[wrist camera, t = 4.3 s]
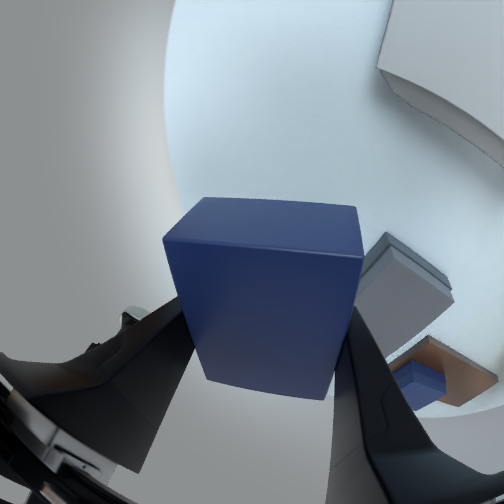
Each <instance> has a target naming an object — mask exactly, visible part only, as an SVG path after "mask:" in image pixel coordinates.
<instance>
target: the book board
mask: <svg viewBox="0 0 504 504" xmlns="http://www.w3.org/2000/svg"><path fill="white" fill-rule="evenodd" d="M410 360H414V361H416V362H418V363H420V364H422V365H424V366H427V367H429V368H431V369H433V370H435V371H437V372H440V373H442V374H444V375H445V379H446V391H447V394H446V395H444V396H443V397H441V398H439V399H437V400H438V401H441V402H444V403H447V404H450V405H453V406H456V407H459V406H461V405H463V404H465V403H466V402H468V401H470V400H471V399H473V398H475V397H476V396H478V395H479V394H481V393H482V392H484V391H486V390H487V389H489V388H490V387H491V386H493V385H494V384H496V383H497V382H499V381H498V377H497V376H496V375H495V374H493V373H491V372H490V371H488V370H486V369H485V368H483V367H481V366H480V365H478V364H476V363H475V362H473V361H471V360H470V359H468V358H466V357H465V356H463V355H461V354H460V353H458V352H456V351H454V350H453V349H451V348H449V347H448V346H446V345H444V344H443V343H441V342H439V341H437V340H436V339H434V338H432V337H431V336H429V335H428V336H426V337H425V338H424V339H423V340H421V341H420V342H419V343H417V344H416V345H415V346H413V347H412V348H411V349H409V350H408V351H407V352H405V353H404V354H402V355H401V356H400V357H398V358H397V359H395V360H394V361H392V362H391V363H389V364H388V366H389V368H390V369H391V371H392V372H393V371H395V370H397V369H398V368H400V367H401V366H403V365H404V364H406V363H407V362H409V361H410Z"/></svg>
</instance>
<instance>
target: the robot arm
mask: <svg viewBox="0 0 504 504" xmlns="http://www.w3.org/2000/svg"><path fill="white" fill-rule="evenodd" d="M194 349H195V346H194V343H193V340H192V338H191V335H190V332H189V329H188V326H187V323H186V320H185V317H184V314H183V311H182V307H181V304H180V301H179V298H178V296H177V297H176V298H174V299H173V300H171V301H169V302H168V303H166V304H165V305H163V306H162V307H160V308H158V309H157V310H156V311H154V312H152V313H151V314H149V315H147V316H146V317H144V318H143V319H141V320H140V321H139V320H137V319H136V318H134V317H133V316H131V315H129V314H128V313H126V312H123V314H122V324H121V329H120V331H119V332H118V333H117V335H116V336H115V337H113V338H111V339H109V340H108V341H106V342H104V343H103V344H100V343H98V344H95V343H92V344H91V345H90V346H89V348H88V349H87V350H86V352H85V353H84V354H82V355H80V356H78V357H76V358H74V359H72V360H70V361H68V362H64V363H39V362H27V361H17V360H13V359H10V358H8V357H7V356H6V355H5V354H4V353H2V352H0V373H1V375H2V376H3V377H4V378H5V379H6V380H7V381H8V382H9V383H10V385H11V386H13V390H12V391H10V390H9V389H8V388H7V387H6V386H5V385H4V384H3V383H2V382H1V381H0V475H2V476H4V477H5V478H7V479H10V480H12V481H13V482H16V483H18V484H20V485H22V486H25V487H27V488H29V489H30V490H31V491H30V493H29V495H28V497H27V499H26V501H25V503H24V504H137V503H135V502H133V501H132V500H130V499H128V498H126V497H124V496H123V495H121V494H119V493H117V492H116V491H114V490H112V489H111V488H109V487H107V484H108V482H109V480H110V478H111V476H112V474H113V472H114V470H115V469H116V467H117V464H119V465H122V466H123V467H125V468H127V469H129V470H131V471H133V472H135V473H137V474H139V472H140V470H141V468H142V466H143V463H144V461H145V459H146V457H147V454H148V452H149V450H150V447H151V445H152V443H153V441H154V438H155V436H156V434H157V431H158V429H159V427H160V425H161V422H162V420H163V418H164V416H165V413H166V411H167V409H168V406H169V404H170V402H171V400H172V398H173V395H174V393H175V391H176V389H177V387H178V384H179V382H180V380H181V378H182V376H183V373H184V371H185V369H186V366H187V365H188V362H189V360H190V358H191V356H192V354H193V351H194ZM394 379H395V377H394V375H393V373H392V371H391V369H390V368H389V366H388V364H387V362H386V360H385V358H384V356H383V354H382V352H381V350H380V348H379V347H378V345H377V343H376V341H375V339H374V337H373V336H372V334H371V332H370V330H369V328H368V326H367V325H366V323H365V321H364V319H363V318H362V316H361V314H360V312H359V311H358V309H357V307H356V306H355V305H354V307H353V311H352V315H351V318H350V322H349V326H348V329H347V333H346V336H345V339H344V343H343V346H342V349H341V352H340V356H339V359H338V362H337V365H336V368H335V393H334V419H333V436H332V450H331V461H330V472H329V480H328V488H327V495H326V503H325V504H504V499H502V500H499V501H497V502H495V500H496V497H498V496H500V495H502V494H504V471H501V472H499V473H496V474H493V475H486V474H482V473H480V472H477V471H475V470H474V469H472V468H470V467H468V466H466V465H465V464H463V463H461V462H459V461H457V460H456V459H454V458H452V457H450V456H449V455H447V454H445V453H444V452H442V451H441V450H440V449H438V448H437V447H436V446H435V445H434V443H433V442H432V441H431V440H430V438H429V436H428V434H427V433H426V431H425V430H424V428H423V426H422V425H421V423H420V422H419V420H418V418H417V417H416V415H415V414H414V412H413V410H412V409H411V407H410V406H409V404H408V402H407V401H406V399H405V397H404V395H403V393H402V391H401V389H400V387H399V385H398V383H397V381H396V380H394ZM0 504H12V503H10V502H7V501H5V500H2V499H0Z"/></svg>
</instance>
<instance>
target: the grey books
mask: <svg viewBox="0 0 504 504" xmlns="http://www.w3.org/2000/svg"><path fill="white" fill-rule="evenodd" d="M451 290H452V288H451V285H450V283H449V280H448V278H447V277H446V276H445V275H444V274H443V273H441V272H440V271H439V270H437V269H436V268H435V267H434V266H432V265H431V264H430V263H428V262H427V261H426V260H425V259H423V258H422V257H421V256H419V255H418V254H417V253H415V252H414V251H413V250H411V249H410V248H408V247H407V246H406V245H404V244H403V243H401V242H400V241H399V240H397V239H396V238H394V237H393V236H392V235H390V234H389V233H387V232H385V234H384V235H383V236H382V237H381V238H380V240H379V241H378V242H377V243H376V245H375V246H374V247H373V248H372V249H371V250H370V252H369V253H368V254H367V255H366V256H365V259H364V263H363V268H362V273H361V278H360V282H359V286H358V291H357V295H356V299H355V303H354V305H355V306H356V307H357V309H358V311H359V312H360V314H361V316H362V318H363V319H364V321H365V323H366V325H367V326H368V328H369V330H370V332H371V334H372V336H373V337H374V339H375V341H376V343H377V345H378V347H379V348H380V350H381V352H382V354H383V356H384V358H386V357H387V356H389V355H390V354H392V353H393V352H394V351H396V350H397V349H399V348H400V347H401V346H403V345H404V344H405V343H407V342H408V341H409V340H410V339H412V338H413V337H414V336H416V335H417V334H418V333H419V332H421V331H422V330H423V329H424V328H426V327H427V326H428V325H429V324H430V323H431V322H433V321H434V320H435V319H436V318H437V317H438V316H440V315H441V314H442V313H443V312H444V311H445V310H446V309H447V308H449V307H450V306H451V305H452V304H453V303H454V299H453V297H452V294H451V292H450V291H451Z"/></svg>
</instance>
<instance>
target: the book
mask: <svg viewBox="0 0 504 504" xmlns="http://www.w3.org/2000/svg"><path fill="white" fill-rule="evenodd" d="M376 68H378V69H380V71H381V73H382V74H383V76H384V78H385V79H386V81H387V83H388V84H389V86H390V88H391V89H392V91H393V92H394V93H395V94H397V95H398V96H399V97H401V98H402V99H403V100H404V101H406V102H407V103H408V104H409V105H411V106H412V107H413V108H415V109H417V110H419V111H421V112H423V113H425V114H426V115H428V116H430V117H432V118H433V119H435V120H437V121H438V122H440V123H442V124H443V125H445V126H447V127H448V128H450V129H451V130H453V131H455V132H456V133H458V134H459V135H461V136H462V137H464V138H465V139H466V140H468V141H469V142H471V143H472V144H474V145H475V146H476V147H478V148H479V149H480V150H482V151H483V152H484V153H486V154H487V155H488V156H490V157H491V158H492V159H493V160H495V161H496V162H497V163H498V164H500V165H501V166H502V167H503V168H504V0H393V2H392V6H391V10H390V14H389V18H388V22H387V26H386V29H385V33H384V37H383V40H382V44H381V47H380V56H379V60H378V63H377V66H376Z"/></svg>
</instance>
